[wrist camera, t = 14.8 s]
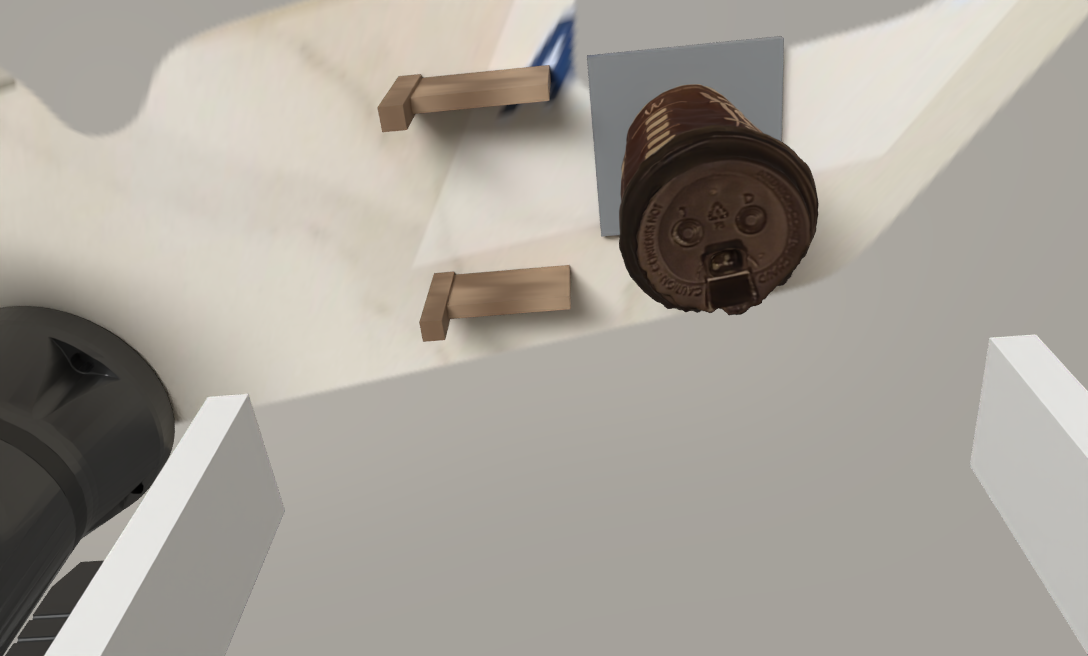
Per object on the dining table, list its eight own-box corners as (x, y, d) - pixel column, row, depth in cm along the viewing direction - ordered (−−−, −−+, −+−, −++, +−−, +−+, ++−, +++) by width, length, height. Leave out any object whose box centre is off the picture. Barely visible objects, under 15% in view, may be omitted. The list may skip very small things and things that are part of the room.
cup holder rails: (437, 291, 54) (423, 341, 49) (398, 76, 48) (377, 107, 43) (570, 280, 54) (570, 329, 48) (548, 61, 47) (546, 90, 42)
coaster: (600, 232, 52) (601, 236, 51) (586, 55, 47) (587, 58, 47) (777, 217, 51) (779, 221, 51) (781, 35, 46) (783, 38, 46)
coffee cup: (710, 243, 52) (750, 361, 40) (579, 182, 50) (582, 287, 39) (794, 106, 48) (866, 194, 36) (656, 35, 46) (684, 104, 35)
